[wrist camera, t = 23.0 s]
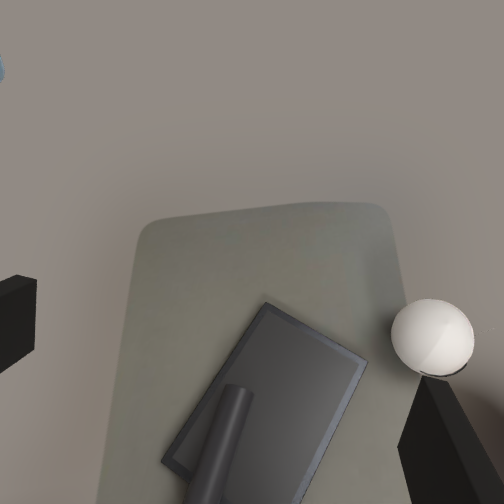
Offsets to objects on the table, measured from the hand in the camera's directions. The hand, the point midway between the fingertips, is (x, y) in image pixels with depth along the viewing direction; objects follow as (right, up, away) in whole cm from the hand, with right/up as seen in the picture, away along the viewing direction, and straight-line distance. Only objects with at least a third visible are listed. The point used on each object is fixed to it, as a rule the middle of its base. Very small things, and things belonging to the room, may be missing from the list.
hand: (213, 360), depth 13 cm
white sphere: (+20, -7, +29) cm, 35 cm away
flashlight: (0, -9, +24) cm, 25 cm away
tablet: (+3, -12, +25) cm, 28 cm away
